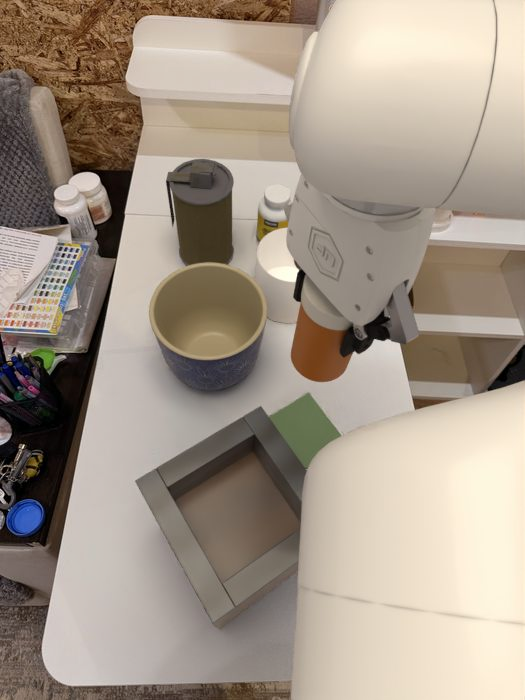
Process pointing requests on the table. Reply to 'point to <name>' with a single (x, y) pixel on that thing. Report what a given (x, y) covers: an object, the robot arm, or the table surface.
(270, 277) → the cup
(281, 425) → the mat
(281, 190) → the pill bottle
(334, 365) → the medicine bottle
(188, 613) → the table surface
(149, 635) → the table surface
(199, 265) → the planter
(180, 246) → the canister
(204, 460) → the metal storage bin
